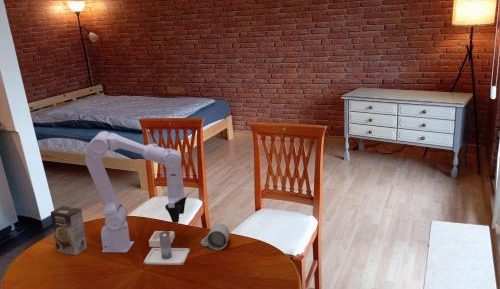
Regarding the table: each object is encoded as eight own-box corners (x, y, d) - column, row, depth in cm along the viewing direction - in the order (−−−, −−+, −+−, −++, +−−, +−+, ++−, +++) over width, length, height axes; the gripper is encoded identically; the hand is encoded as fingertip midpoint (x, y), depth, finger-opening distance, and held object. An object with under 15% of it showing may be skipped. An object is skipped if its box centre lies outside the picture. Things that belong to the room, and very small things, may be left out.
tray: (143, 265, 154) (143, 262, 153) (152, 250, 163) (152, 247, 163) (183, 266, 152) (182, 262, 152) (189, 251, 162) (189, 248, 161)
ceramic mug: (230, 239, 169) (229, 221, 167) (227, 250, 161) (226, 231, 159) (203, 239, 170) (201, 221, 168) (199, 250, 162) (197, 231, 160)
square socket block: (149, 247, 166) (148, 240, 165) (155, 238, 173) (155, 231, 172) (169, 248, 165) (168, 240, 164) (174, 238, 172) (174, 231, 171)
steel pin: (159, 258, 156) (157, 235, 154) (164, 253, 160) (162, 230, 157) (169, 259, 155) (166, 236, 153) (173, 254, 159) (171, 231, 156)
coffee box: (56, 252, 165) (49, 212, 161) (69, 244, 171) (62, 205, 167) (75, 256, 162) (68, 215, 158) (87, 247, 168) (81, 208, 163)
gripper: (180, 190, 154) (184, 226, 158) (190, 176, 168) (193, 209, 172) (161, 191, 155) (164, 226, 159) (172, 176, 169) (175, 209, 173)
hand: (178, 217), depth 165 cm, fingers open, 7 cm apart
